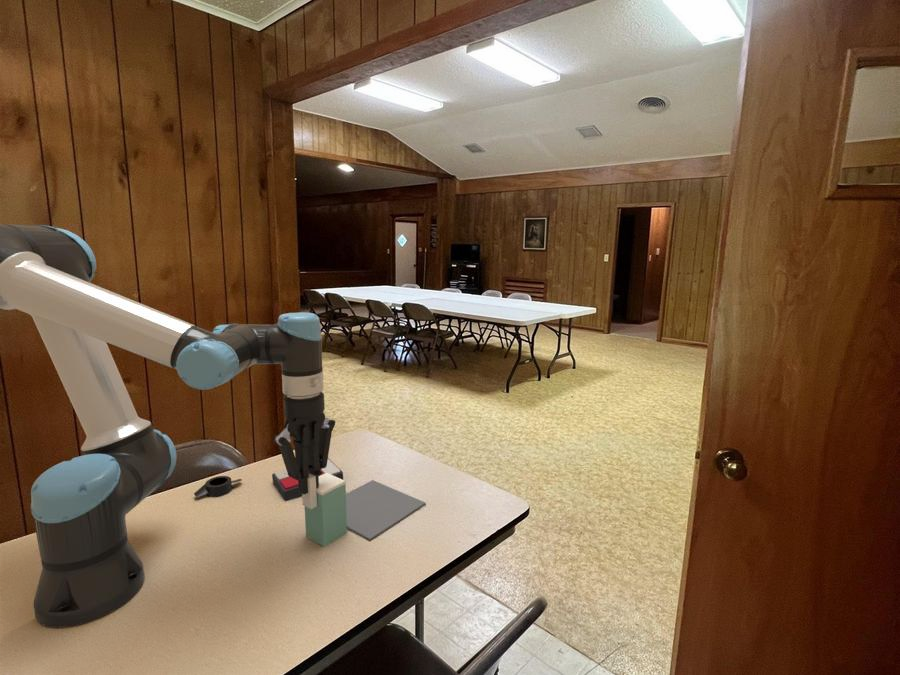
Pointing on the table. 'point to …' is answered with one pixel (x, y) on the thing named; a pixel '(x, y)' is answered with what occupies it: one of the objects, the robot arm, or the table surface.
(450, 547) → the table surface
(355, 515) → the mat
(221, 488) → the black ring with arms
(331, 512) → the block
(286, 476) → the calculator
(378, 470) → the table surface
